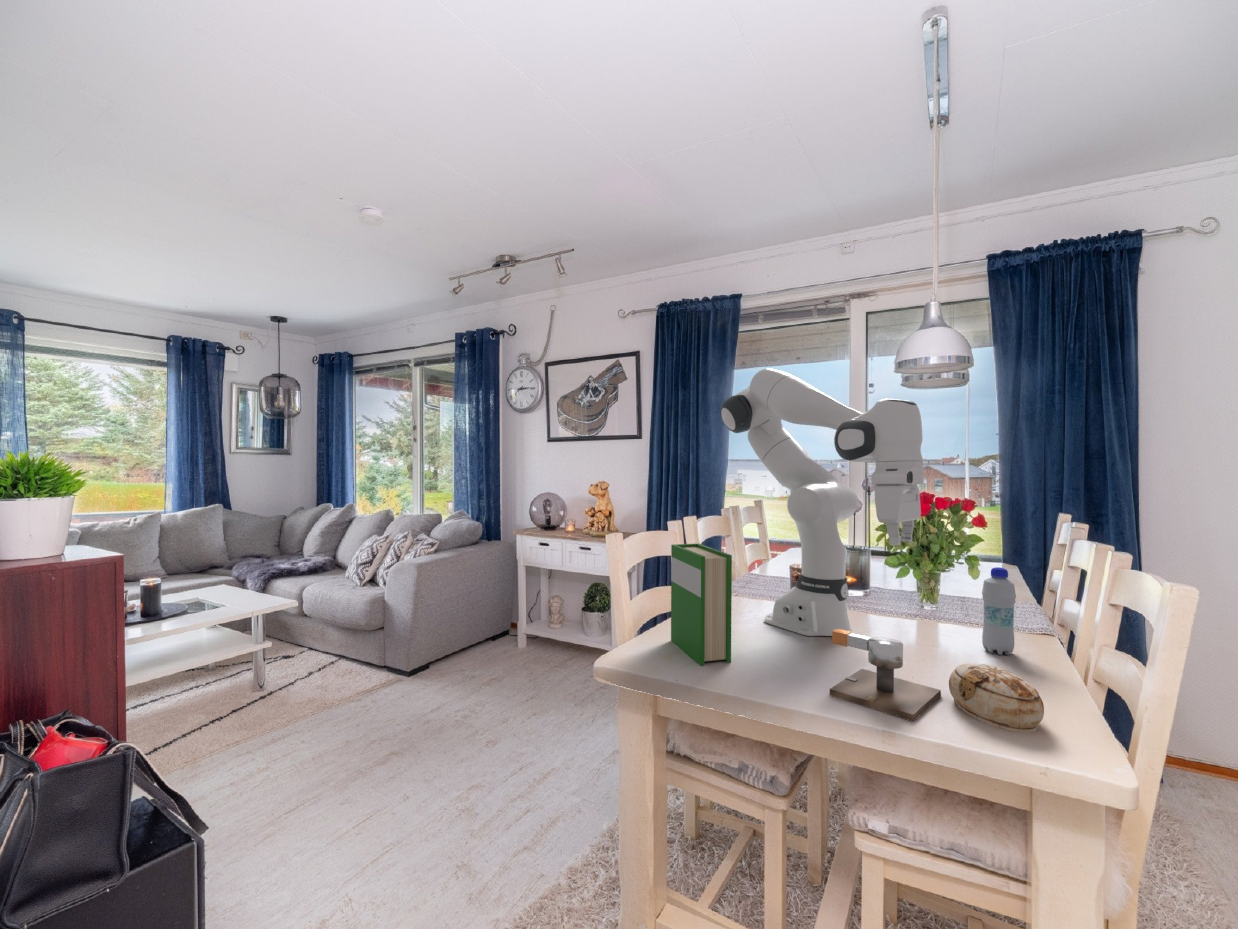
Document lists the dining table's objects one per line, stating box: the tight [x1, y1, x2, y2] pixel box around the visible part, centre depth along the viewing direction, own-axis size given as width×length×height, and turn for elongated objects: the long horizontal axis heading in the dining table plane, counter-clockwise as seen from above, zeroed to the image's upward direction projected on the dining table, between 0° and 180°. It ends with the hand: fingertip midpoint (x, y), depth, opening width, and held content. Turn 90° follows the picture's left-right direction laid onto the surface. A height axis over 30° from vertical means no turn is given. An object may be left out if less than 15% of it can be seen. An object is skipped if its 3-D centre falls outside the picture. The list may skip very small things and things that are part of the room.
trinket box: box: [948, 662, 1045, 733], centre depth 100 cm, size 13×15×8 cm
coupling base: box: [829, 666, 942, 722], centre depth 107 cm, size 15×15×6 cm
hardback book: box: [670, 543, 733, 667], centre depth 132 cm, size 18×7×24 cm, turn 16°
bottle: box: [981, 566, 1017, 656], centre depth 132 cm, size 7×7×20 cm
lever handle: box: [831, 629, 904, 670], centre depth 110 cm, size 13×6×4 cm, turn 44°
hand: (901, 543), depth 115 cm, fingers open, 8 cm apart
